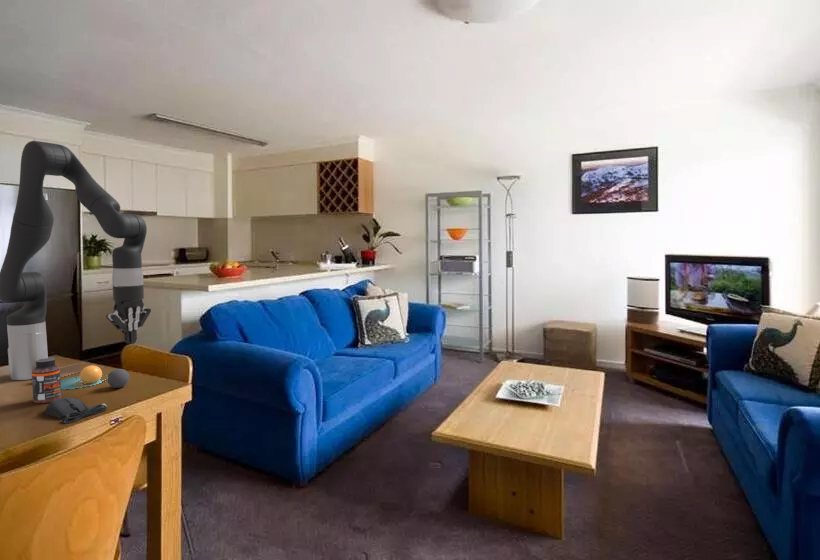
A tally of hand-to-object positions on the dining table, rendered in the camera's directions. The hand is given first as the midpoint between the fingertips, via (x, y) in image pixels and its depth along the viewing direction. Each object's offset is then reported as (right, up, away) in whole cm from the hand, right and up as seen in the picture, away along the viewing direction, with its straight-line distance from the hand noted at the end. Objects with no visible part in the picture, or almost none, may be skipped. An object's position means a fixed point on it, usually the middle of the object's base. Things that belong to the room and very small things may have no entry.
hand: (130, 343), depth 128 cm
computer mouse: (-5, -16, -16) cm, 23 cm away
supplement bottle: (-18, -15, -8) cm, 24 cm away
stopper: (-30, -13, +12) cm, 35 cm away
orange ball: (-16, -11, +6) cm, 20 cm away
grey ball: (-5, -11, +3) cm, 12 cm away
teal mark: (-20, -13, +8) cm, 25 cm away
